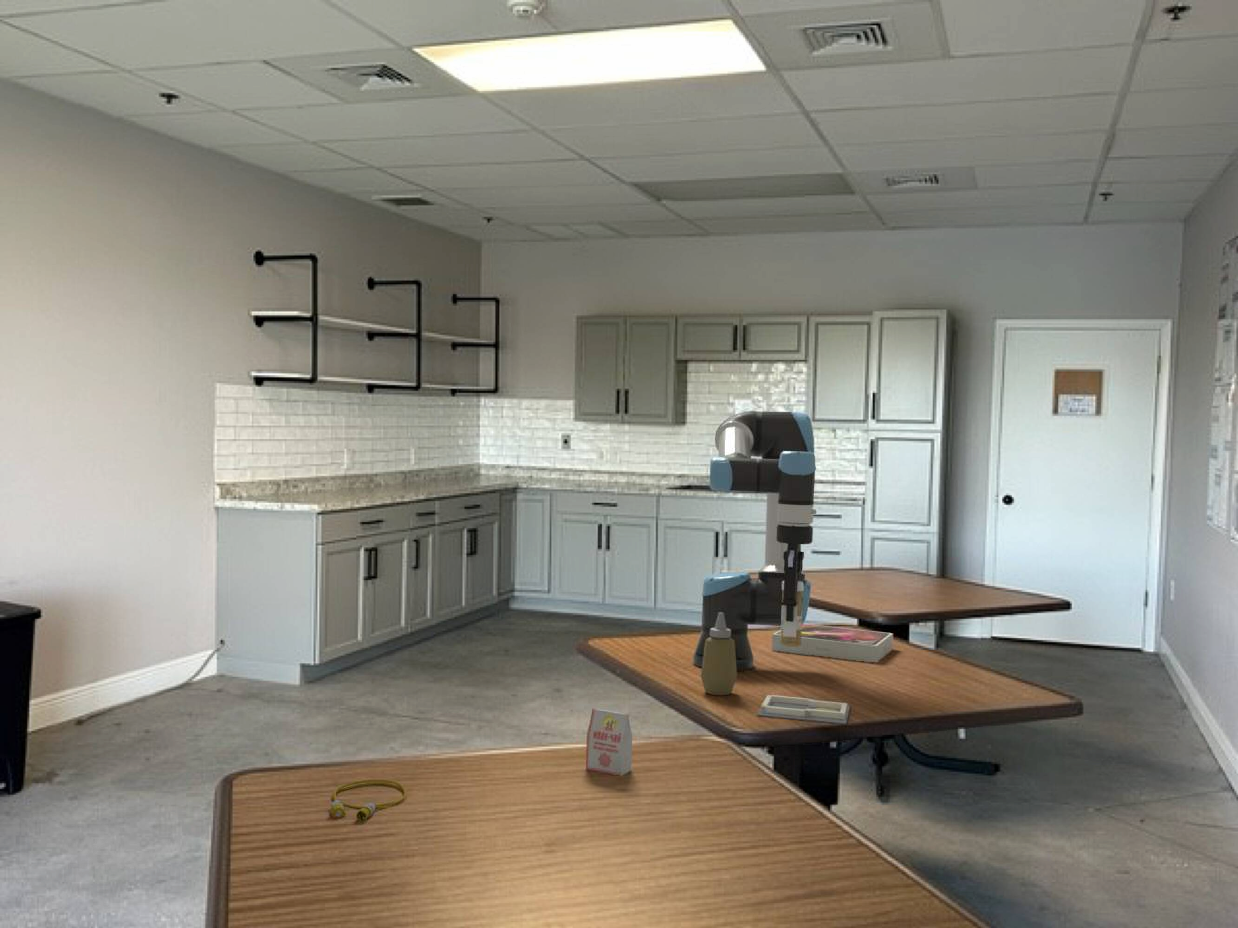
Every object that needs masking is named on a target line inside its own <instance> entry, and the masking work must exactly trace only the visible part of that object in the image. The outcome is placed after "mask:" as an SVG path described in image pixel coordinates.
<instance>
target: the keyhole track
mask: <svg viewBox="0 0 1238 928" xmlns="http://www.w3.org/2000/svg"><path fill="white" fill-rule="evenodd" d="M850 710H851V705H848V703H847V702H837V701H836V702H835V701H828V700H827V701H826V700H816V699H815V698H807V697H806V698H805V697H795V696H787V695H785V696H784V695H776V694H775V695H774V694H767V696H766V697H765V699H764V701H763V702H762V704H761V705H760V708H759V710H758V712H757V714H756V716H757V717H766V718H776V719H786V720H793V721H794V720H795V721H796V720H797V721H806V722H814V723H815V722H816V723H824V724H836V725H842V726H843V725H847V722H848V717H849V715H850V714H849V713H850Z"/></svg>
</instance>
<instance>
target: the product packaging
mask: <svg viewBox="0 0 1238 928" xmlns="http://www.w3.org/2000/svg"><path fill="white" fill-rule="evenodd" d="M893 640H894V633H891V632H883V631H873V630H865V629H864V630H863V629H856V628H855V629H854V628H844V627H837V626H829V625H828V626H826V625H817V624H807V623H803V624H802V629H801V642H802V644H801V645H799V646H786V645H782V644H781V643H780V641H781V629H780V630H778V631H776V632H773V633H772V634H771V651H772V650H774V651H773V652H778V651H780V652H779V653H786V652H789V653H788V654H797V655H804V656H811V655H815V656H814V657H819V656H824V657H823V658H828V657H831V658H830V659H836V658H838V659H837V660H844V659H846V661H853V660H855V661H854V662H861V661H864V662H863V663H869V662H875V663H874V664H877V663H878V662H880V661H881V660H882V659H884V657H886V656H887V655H888V654H889V653H890V652H892V650H893V645H894V644H893ZM887 653H888V654H887ZM886 654H887V655H886ZM881 658H882V659H881ZM880 659H881V660H880ZM879 660H880V661H879ZM876 662H877V663H876Z"/></svg>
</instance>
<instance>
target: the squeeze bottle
mask: <svg viewBox="0 0 1238 928" xmlns="http://www.w3.org/2000/svg"><path fill="white" fill-rule="evenodd" d="M710 636H711V637H709V638H708V639H706V641H705V649H704V656H703V663H702V667H701V672H700V677H701V681H702V685H703V689H704V692H705V693H707V694H709V695H713V696H727V695H731V694H732V692H733V689H734V687H735V684H736V681H737V678H738V673H737V672H738V671H736V655H735V641H734V640H733V639H731V638H729V637H731V630H730V629H728V628H726V623H725V617H724V613H718V617H717V621H716V625H715V628H711V629H710Z"/></svg>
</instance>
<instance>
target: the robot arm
mask: <svg viewBox="0 0 1238 928" xmlns="http://www.w3.org/2000/svg"><path fill="white" fill-rule="evenodd" d="M716 429H717V430H716V432H715V435H714V442H715V444H714V445H715V447H716V449H717V451H718V456H717V457H716V456H715V457H712V458H711V459H710V460H709V461H710V465H709V466H710V467H709V488H710V490H712V491H717V492H718V491H719V492H724V493H727V492H728V493H729V492H731V493H732V492H733V493H735V492H737V493H760V494H761V493H763V494H764V493H765V494H766V516H765V517H766V519H765V543H764V544H765V545H764V546H765V547H764V551H765V552H764V564H763V566H762V567H761V568H760V569H759V570H758V572H757V573H758V577H756V578H755V577H754V578H753V577H751V574H750V572H748V571H737V570H736V571H734V570H733V571H725V572H718V573H712V574H709V575H707V576H706V577H705V578H704V580H703V585H702V592H701V596H702V609H701V632H700V636H699V639H698V641H697V644H696V646H695V649H694V652H693V657H692V658H693V660H692V663H693V665H695V666H696V667H700V668H702V663H703V656H704V649H705V641H706V639H708V638H709V637H711V636H710V629H711V628H715V625H716V621H717V617H718V613H724V617H725V623H726V628H728V629H730V630H731V637H729V638H731V639H733V640H734V641H735V655H736V671H737V672H738V671H745V670H750V669H752V668H753V667H754V663H755V661H754V659H755V658H754V655H753V651H752V647H751V643H750V640H749V635H748V631H749V630H748V629H749V625H752V626H753V625H755V626H770V627H781V611H782V605H784V617H783V636H785V637H796V628H797V606H796V605H797V585H798V581H801V582H803V583H804V591H803V593H802V624H805V621H806V618H807V614H808V610H809V604H810V598H811V597H810V596H811V588H812V583H811V581H810V580H809V579H806V573H805V572H804V570H803V568H804V567H803V563H804V562H803V560H804V558H805V551H802V545H810V544H812V543H813V539H814V538H813V536H814V535H813V533H814V527H813V526H812V525H811V524H813V523H814V515H816V514H817V510H816V509H814V504H815V502H814V499H815V481H816V477H815V476H816V471H817V466H816V455H815V439H814V430H813V424H812V421H811V417H810V416H809V415H808V414H807V413H804V412H803V413H802V412H794V411H762V410H761V411H759V410H758V411H756V410H747V411H743V412H739V413H736V414H734V415H732V416H730V417H728V418H726V419H725V420H724V421H723V422H722V423H720V425H719V426H718V427H717V428H716ZM752 457H753V458H752ZM754 457H759V458H754ZM783 581H784V598H783V602H782V594H783V592H782V591H783V590H782V582H783Z"/></svg>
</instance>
